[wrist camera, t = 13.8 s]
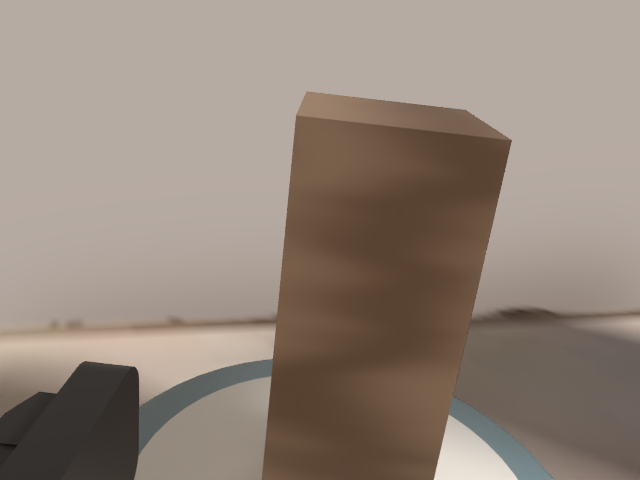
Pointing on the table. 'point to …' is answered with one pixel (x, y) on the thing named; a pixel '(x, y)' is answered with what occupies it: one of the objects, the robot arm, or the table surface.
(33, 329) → the table surface
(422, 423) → the walnut block
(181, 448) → the teal dish
